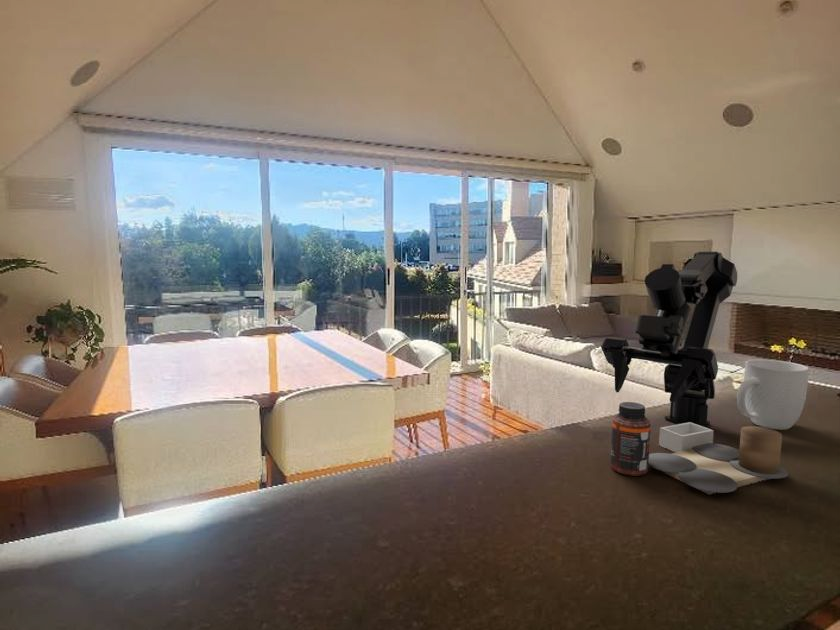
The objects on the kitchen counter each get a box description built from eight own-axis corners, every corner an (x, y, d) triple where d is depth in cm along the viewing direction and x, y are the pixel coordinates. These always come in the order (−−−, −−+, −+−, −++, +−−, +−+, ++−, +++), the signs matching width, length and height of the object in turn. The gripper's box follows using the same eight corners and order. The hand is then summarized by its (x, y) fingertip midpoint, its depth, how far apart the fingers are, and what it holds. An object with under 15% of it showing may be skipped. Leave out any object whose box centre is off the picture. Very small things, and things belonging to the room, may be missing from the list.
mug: (762, 438, 99) (767, 373, 97) (714, 420, 109) (718, 362, 108) (816, 430, 103) (822, 368, 102) (765, 414, 114) (770, 357, 112)
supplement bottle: (654, 477, 82) (658, 410, 80) (617, 477, 82) (620, 410, 81) (639, 462, 88) (642, 399, 86) (604, 462, 88) (607, 399, 86)
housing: (658, 445, 95) (659, 427, 95) (689, 439, 99) (690, 422, 98) (681, 455, 91) (682, 436, 90) (712, 448, 94) (713, 430, 94)
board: (633, 463, 87) (635, 423, 86) (713, 446, 95) (716, 409, 94) (712, 503, 73) (715, 456, 73) (798, 479, 81) (803, 436, 80)
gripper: (607, 295, 95) (578, 361, 89) (718, 301, 82) (694, 379, 76) (621, 331, 102) (595, 395, 95) (726, 343, 89) (705, 417, 82)
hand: (642, 396), depth 87 cm, fingers open, 9 cm apart
